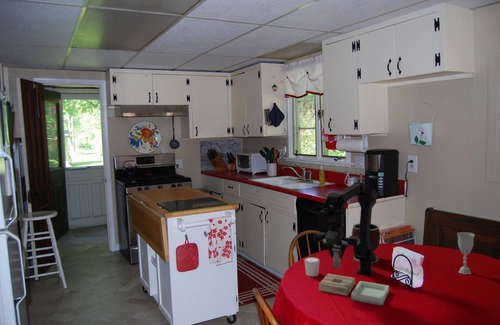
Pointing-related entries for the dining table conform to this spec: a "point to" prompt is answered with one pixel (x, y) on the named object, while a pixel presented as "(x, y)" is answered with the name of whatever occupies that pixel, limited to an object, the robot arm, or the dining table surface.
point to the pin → (336, 256)
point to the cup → (312, 266)
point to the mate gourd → (373, 236)
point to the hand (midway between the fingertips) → (336, 258)
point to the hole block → (337, 284)
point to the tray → (370, 293)
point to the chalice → (465, 248)
